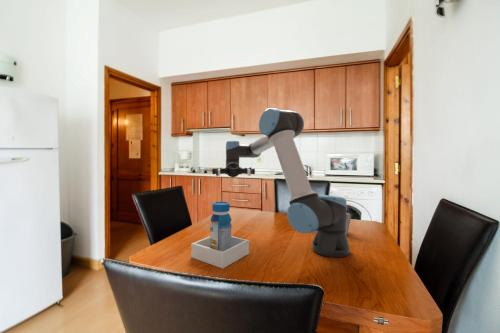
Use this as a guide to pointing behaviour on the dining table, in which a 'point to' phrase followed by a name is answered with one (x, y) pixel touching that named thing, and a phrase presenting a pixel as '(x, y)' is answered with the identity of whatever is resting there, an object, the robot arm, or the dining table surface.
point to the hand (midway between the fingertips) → (234, 172)
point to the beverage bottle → (221, 226)
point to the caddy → (218, 258)
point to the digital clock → (347, 221)
